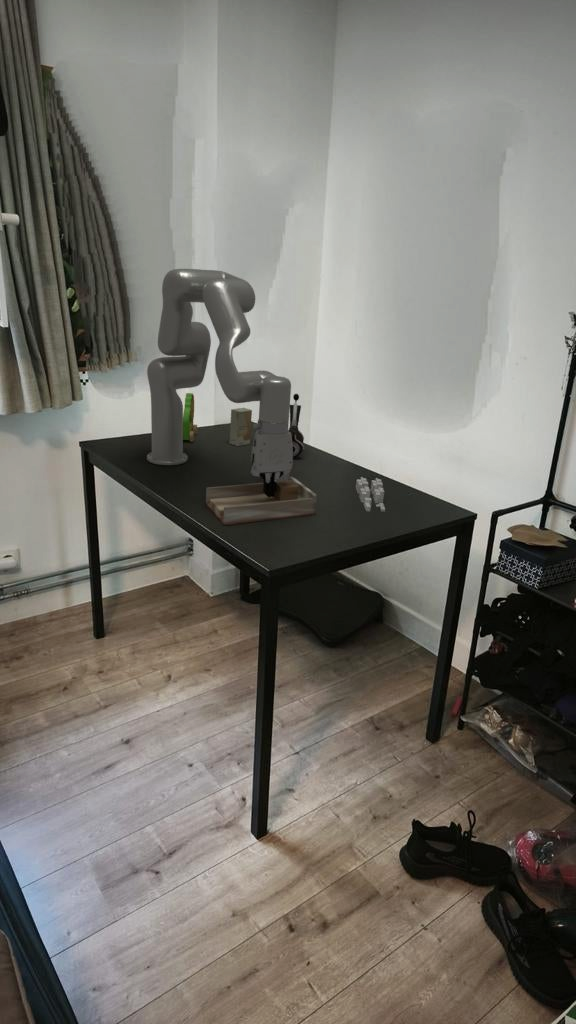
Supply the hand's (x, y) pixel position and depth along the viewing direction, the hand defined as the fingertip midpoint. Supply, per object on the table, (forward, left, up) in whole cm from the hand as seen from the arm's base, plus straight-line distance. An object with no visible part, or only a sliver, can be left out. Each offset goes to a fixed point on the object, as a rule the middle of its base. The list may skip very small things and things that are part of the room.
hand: (269, 495), depth 165 cm
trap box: (0, -2, -4) cm, 4 cm away
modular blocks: (+2, +31, -4) cm, 31 cm away
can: (-20, +11, -4) cm, 23 cm away
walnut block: (0, +5, -1) cm, 5 cm away
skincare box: (-58, +14, -4) cm, 60 cm away
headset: (-43, +27, -4) cm, 51 cm away
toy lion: (-70, -1, -4) cm, 70 cm away
